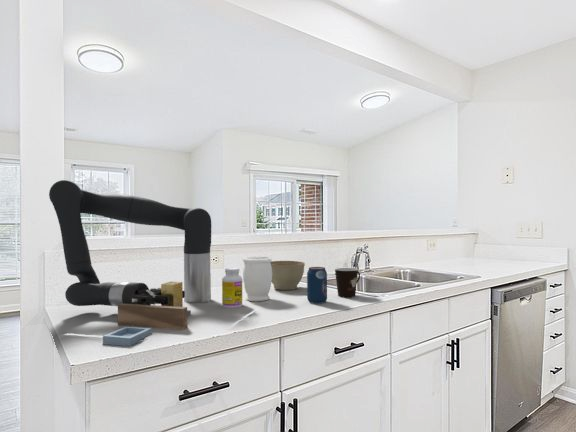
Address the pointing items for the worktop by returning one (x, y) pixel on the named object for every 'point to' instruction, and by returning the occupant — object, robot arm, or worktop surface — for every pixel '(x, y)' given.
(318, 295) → the soda can
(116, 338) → the socket
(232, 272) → the supplement bottle
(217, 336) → the worktop surface
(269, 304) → the worktop surface
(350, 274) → the coffee mug
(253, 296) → the jar
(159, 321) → the board
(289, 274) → the planter bowl
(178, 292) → the block
